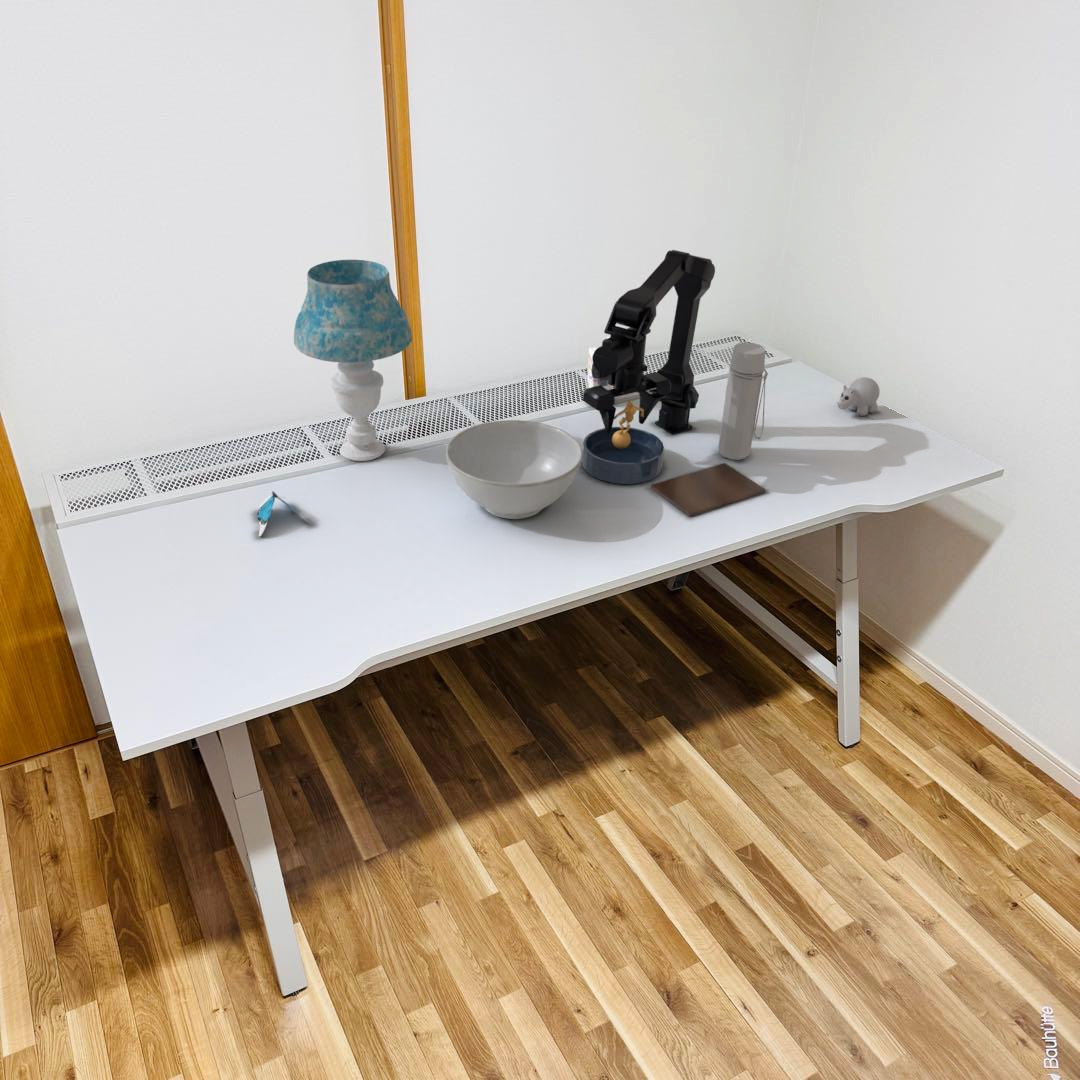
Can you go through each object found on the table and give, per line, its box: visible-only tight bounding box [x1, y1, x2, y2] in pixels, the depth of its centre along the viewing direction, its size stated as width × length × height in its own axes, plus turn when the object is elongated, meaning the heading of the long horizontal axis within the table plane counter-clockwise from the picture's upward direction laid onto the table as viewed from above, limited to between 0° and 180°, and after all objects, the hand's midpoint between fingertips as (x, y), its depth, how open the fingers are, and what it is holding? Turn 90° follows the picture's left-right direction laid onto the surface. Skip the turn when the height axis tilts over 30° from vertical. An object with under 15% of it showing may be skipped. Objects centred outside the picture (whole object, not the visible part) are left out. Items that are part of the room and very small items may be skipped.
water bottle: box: [717, 341, 769, 461], centre depth 212 cm, size 9×8×25 cm
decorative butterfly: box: [257, 490, 309, 537], centre depth 191 cm, size 10×6×10 cm
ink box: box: [586, 336, 613, 390], centre depth 238 cm, size 9×5×15 cm, turn 6°
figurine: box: [612, 399, 644, 449], centre depth 208 cm, size 8×6×12 cm
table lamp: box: [293, 259, 413, 462], centre depth 205 cm, size 24×24×40 cm
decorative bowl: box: [445, 419, 583, 520], centre depth 196 cm, size 27×27×12 cm
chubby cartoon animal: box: [836, 376, 881, 417], centre depth 236 cm, size 7×12×8 cm, turn 120°
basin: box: [581, 426, 665, 485], centre depth 212 cm, size 17×17×5 cm
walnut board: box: [650, 462, 766, 518], centre depth 205 cm, size 20×13×1 cm, turn 121°
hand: (624, 427), depth 209 cm, fingers closed on figurine, 8 cm apart
